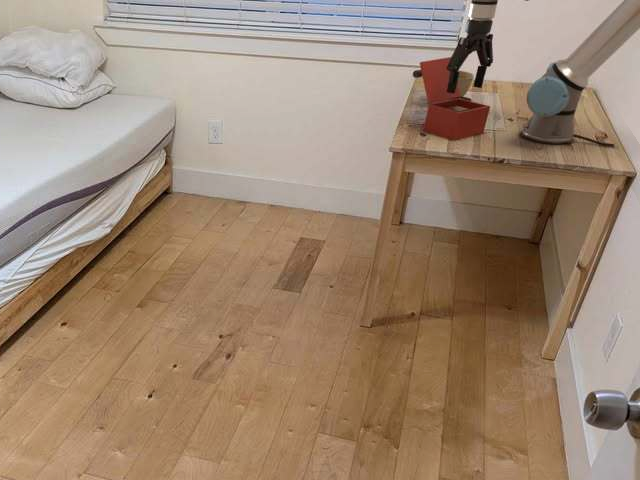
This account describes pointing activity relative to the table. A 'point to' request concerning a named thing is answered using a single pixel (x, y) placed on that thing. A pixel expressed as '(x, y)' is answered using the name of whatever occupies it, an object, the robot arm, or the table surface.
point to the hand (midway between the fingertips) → (464, 90)
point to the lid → (436, 79)
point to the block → (458, 108)
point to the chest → (456, 119)
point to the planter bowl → (462, 83)
